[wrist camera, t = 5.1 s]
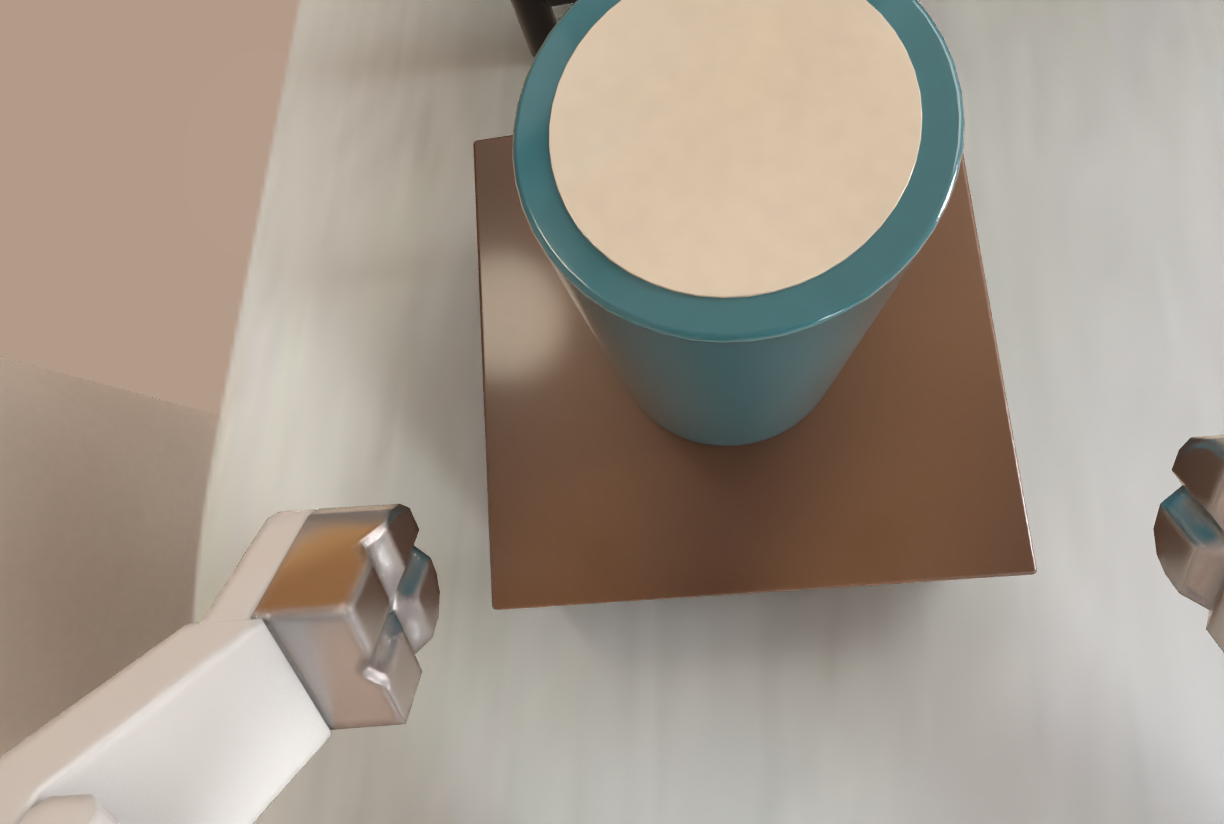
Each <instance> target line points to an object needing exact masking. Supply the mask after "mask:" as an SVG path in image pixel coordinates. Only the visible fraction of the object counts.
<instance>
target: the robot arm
mask: <svg viewBox="0 0 1224 824" xmlns="http://www.w3.org/2000/svg"><path fill="white" fill-rule="evenodd" d="M1172 471H1173V472H1174V474H1175V475H1176V477H1177V478H1178V479H1179V481H1180V482H1181V484H1182V486H1181V487H1180V488H1179V489H1178V490H1176V491H1175V492H1174V493H1173V494H1172V495H1170V496H1169V497H1168V498H1167V499H1165V500H1164V501H1163V502H1162V503H1161V504H1160V507H1159V511H1158V514H1157V518H1156V522H1155V525H1154V536H1155V544H1156V552H1157V556H1158V558H1159V561H1160V563H1161V565H1162V567H1163V570H1164V572H1165V574H1166V575H1167V577H1168V578H1169V580H1170V581H1171V582H1172V584H1173V585H1174V587H1175V588H1176V589H1177V591H1178V592H1179V593H1180V594H1181V595H1183V596H1185V597H1187V598H1189V599H1190V600H1192V601H1194V602H1196V603H1198V604H1200V605H1201V606H1203V607H1205V608H1207V609H1209V616H1208V621H1207V627H1206V630H1207V631H1208V632H1209V634H1210V635H1211V636H1212V638H1213V639H1214V640H1215V642H1216V643H1217V644H1218V645H1219V647H1220V648H1221V649H1222V651H1223V652H1224V435H1215V436H1204V437H1193V438H1190V439H1189V440H1188V441H1187V442H1186V443H1185V444H1184V445H1183V446H1182V447H1181V449H1180V450H1179V452H1178V454H1177V457H1176V460H1175V463H1174V465H1173V468H1172ZM418 532H419V528H418V526H417V523H416V521H415V519H414V517H413V515H412V512H411V510H410V508H408V507H406V506H404V505H401V504H389V505H373V506H356V507H339V508H323V509H319V510H301V511H286V512H278V513H276V514H275V515H273V516H271V517H269V518H267V520H266V521H265V523H264V524H263V526H262V527H261V529H260V531H259V532H258V534H257V535H256V537H255V538H254V540H253V541H252V543H251V545H250V546H249V548H248V549H247V551H246V552H245V554H244V556H243V557H242V559H241V560H240V562H239V563H238V565H237V566H236V568H235V570H234V571H233V573H232V574H231V576H230V577H229V579H228V581H227V582H226V584H225V585H224V587H223V588H222V590H221V591H220V593H219V595H218V596H217V598H216V599H215V601H214V602H213V604H212V606H211V607H210V609H209V610H208V612H207V613H206V615H205V616H204V618H203V620H202V621H201V623H189V624H186V625H184V626H183V627H182V628H180V629H179V630H177V631H176V632H175V633H173V634H172V635H170V636H169V637H168V638H166V639H165V640H163V641H162V642H160V643H159V644H158V645H156V646H155V647H153V648H152V649H151V650H149V651H148V652H146V653H145V654H144V655H142V656H141V657H139V658H138V659H137V660H135V661H134V662H132V663H131V664H130V665H128V666H127V667H125V668H124V669H123V670H121V671H120V672H118V673H117V674H115V675H114V676H113V677H111V678H110V679H108V680H107V681H106V682H104V683H103V684H101V685H100V686H99V687H97V688H96V689H94V690H93V691H92V692H90V693H89V694H87V695H86V696H85V697H83V698H82V699H80V700H79V701H78V702H76V703H75V704H73V705H72V706H70V707H69V708H68V709H66V710H65V711H63V712H62V713H61V714H59V715H58V716H56V717H55V718H54V719H52V720H51V721H49V722H48V723H47V724H45V725H44V726H42V727H41V728H40V729H38V730H37V731H35V732H34V733H33V734H31V735H30V736H28V737H27V738H25V739H24V740H23V741H21V742H20V743H18V744H17V745H16V746H14V747H13V748H11V749H10V750H9V751H7V752H6V753H4V754H3V755H2V756H0V824H253V823H254V822H255V820H256V819H257V818H258V817H259V816H260V815H261V814H262V813H263V811H264V810H265V809H266V808H267V807H268V806H269V805H270V803H271V802H272V801H273V800H274V799H275V798H276V797H277V796H278V794H279V793H280V792H281V791H282V790H283V789H284V788H285V787H286V785H287V784H288V783H289V782H290V781H291V780H292V779H293V777H294V776H295V775H296V774H297V773H298V772H299V771H300V770H301V768H302V767H303V766H304V765H305V764H306V763H307V762H308V760H309V759H310V758H311V757H312V756H313V755H314V754H315V753H316V751H317V750H318V749H319V748H320V747H321V746H322V745H323V744H324V742H325V741H326V740H327V739H328V738H329V737H330V736H331V734H332V732H331V731H330V730H333V729H346V728H360V727H374V726H387V725H401V724H406V721H407V718H408V715H409V712H410V708H411V705H412V702H413V699H414V696H415V692H416V689H417V686H418V683H419V680H420V676H421V673H422V670H421V668H420V665H419V663H418V661H417V659H416V656H415V654H416V653H417V652H418V651H419V650H420V649H421V648H422V647H423V646H424V645H425V644H426V643H428V642H429V641H430V640H431V639H432V637H433V634H434V630H435V627H436V623H437V620H438V614H439V595H440V591H439V585H438V579H437V574H436V571H435V568H434V565H433V563H432V560H431V558H430V557H429V556H428V555H426V554H425V553H423V552H422V551H421V550H419V549H418V548H416V547H415V546H414V542H415V540H416V537H417V534H418Z"/></svg>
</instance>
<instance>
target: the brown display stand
mask: <svg viewBox="0 0 1224 824" xmlns="http://www.w3.org/2000/svg"><path fill="white" fill-rule="evenodd" d="M473 146H474V171H475V196H476V221H477V245H478V270H479V295H480V319H481V344H482V369H483V394H484V418H485V443H486V468H487V492H488V517H489V542H490V567H491V591H492V607H493V609H495V610H501V609H516V608H532V607H547V606H562V605H577V604H592V603H607V602H622V601H638V600H653V599H668V598H683V597H698V596H713V595H728V594H743V593H759V592H774V591H789V590H804V589H819V588H834V587H849V586H865V585H880V584H895V583H910V582H925V581H940V580H955V579H970V578H986V577H1001V576H1016V575H1031V574H1034V573H1036V570H1037V568H1036V563H1035V557H1034V551H1033V546H1032V540H1031V535H1030V529H1029V523H1028V518H1027V512H1026V506H1025V501H1024V495H1023V489H1022V484H1021V478H1020V472H1019V467H1018V461H1017V455H1016V450H1015V444H1014V438H1013V433H1012V427H1011V422H1010V416H1009V410H1008V405H1007V399H1006V393H1005V388H1004V382H1003V376H1002V371H1001V365H1000V359H999V354H998V348H997V342H996V337H995V331H994V325H993V320H992V314H991V309H990V303H989V297H988V292H987V286H986V280H985V275H984V269H983V263H982V258H981V252H980V246H979V241H978V235H977V229H976V224H975V218H974V212H973V207H972V201H971V195H970V190H969V184H968V179H967V173H966V167H965V162H964V156H963V153H962V158H961V163H960V168H959V173H958V178H957V181H956V183H955V186H954V189H953V192H952V194H951V197H950V200H949V203H948V205H947V207H946V209H945V211H944V213H943V215H942V217H941V218H940V220H939V222H938V224H937V226H936V228H935V230H934V231H933V233H932V234H931V236H930V237H929V239H928V240H927V242H926V243H925V245H924V246H923V248H922V249H921V251H920V252H919V254H918V255H917V257H916V258H915V260H914V261H913V263H912V264H911V266H910V267H909V269H908V270H907V272H906V273H905V275H904V277H903V278H902V280H901V281H900V283H899V284H898V286H897V287H896V289H895V290H894V292H893V293H892V295H891V296H890V298H889V299H888V301H887V302H886V304H885V305H884V307H883V308H882V310H881V311H880V313H879V314H878V316H877V317H876V319H875V320H874V322H873V323H872V325H871V326H870V328H869V329H868V331H867V332H866V334H865V335H864V337H863V338H862V340H861V341H860V343H859V344H858V346H857V347H856V349H855V350H854V352H853V353H852V355H851V356H850V358H849V359H848V361H847V362H846V364H845V365H844V367H843V368H842V370H841V371H840V373H839V374H838V376H837V377H836V379H835V380H834V382H833V383H832V385H831V386H830V388H829V389H828V391H827V392H826V393H825V395H824V396H823V398H822V399H821V400H820V402H819V403H818V404H817V405H816V406H815V407H814V408H813V410H812V411H811V412H810V413H809V414H808V415H807V416H805V417H804V418H803V419H802V420H800V421H799V422H798V423H797V424H795V425H794V426H792V427H790V428H789V429H787V430H785V431H784V432H782V433H780V434H777V435H775V436H773V437H771V438H768V439H765V440H762V441H758V442H755V443H750V444H744V445H738V446H717V445H707V444H702V443H698V442H694V441H690V440H688V439H685V438H682V437H680V436H677V435H675V434H673V433H671V432H669V431H668V430H666V429H664V428H662V427H661V426H660V425H658V424H657V423H655V422H654V421H653V420H651V419H650V418H649V417H648V416H647V415H646V414H645V413H644V412H643V411H642V410H641V409H640V408H639V407H638V406H637V404H636V403H635V402H634V401H633V399H632V398H631V397H630V395H629V393H628V392H627V390H626V388H625V387H624V385H623V383H622V382H621V380H620V378H619V377H618V375H617V373H616V372H615V370H614V368H613V367H612V365H611V363H610V362H609V360H608V358H607V357H606V355H605V353H604V352H603V350H602V348H601V347H600V345H599V343H598V342H597V340H596V338H595V337H594V335H593V333H592V331H591V330H590V328H589V326H588V325H587V323H586V321H585V320H584V318H583V316H582V315H581V313H580V311H579V310H578V308H577V306H576V305H575V303H574V301H573V300H572V298H571V296H570V295H569V293H568V291H567V290H566V288H565V286H564V285H563V283H562V281H561V280H560V278H559V276H558V274H557V273H556V271H555V269H554V268H553V266H552V264H551V263H550V261H549V259H548V258H547V256H546V254H545V253H544V251H543V249H542V248H541V246H540V244H539V243H538V241H537V239H536V238H535V236H534V234H533V232H532V230H531V228H530V225H529V223H528V221H527V218H526V216H525V214H524V211H523V209H522V206H521V202H520V198H519V194H518V191H517V187H516V183H515V174H514V166H513V135H511V136H504V137H497V138H491V139H484V140H477V141H475V142H474V145H473Z"/></svg>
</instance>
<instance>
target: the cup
mask: <svg viewBox="0 0 1224 824" xmlns="http://www.w3.org/2000/svg"><path fill="white" fill-rule="evenodd" d="M964 126H965V118H964V109H963V99H962V91H961V87H960V84H959V80H958V76H957V72H956V68H955V64H954V62H953V59H952V57H951V55H950V52H949V50H948V48H947V45H946V43H945V41H944V38H943V37H942V35H941V34H940V32H939V30H938V29H937V27H936V25H935V24H934V22H933V21H932V19H931V17H930V16H929V14H928V13H927V12H926V11H925V10H924V8H923V7H922V6H921V5H920V4H919V3H918V1H917V0H577V1H576V2H575V3H574V4H573V5H572V6H571V7H570V8H569V9H568V10H567V11H566V12H565V13H564V15H563V16H562V17H561V19H560V20H559V21H558V22H557V24H556V25H555V26H554V28H553V29H552V30H551V31H550V33H549V34H548V36H547V37H546V39H545V41H544V42H543V44H542V46H541V47H540V49H539V51H538V52H537V54H536V56H535V58H534V60H533V63H532V65H531V67H530V69H529V72H528V74H527V76H526V78H525V81H524V85H523V88H522V91H521V95H520V98H519V101H518V105H517V110H516V117H515V123H514V129H513V166H514V174H515V183H516V187H517V191H518V194H519V198H520V202H521V206H522V209H523V211H524V214H525V216H526V218H527V221H528V223H529V225H530V228H531V230H532V232H533V234H534V236H535V238H536V239H537V241H538V243H539V244H540V246H541V248H542V249H543V251H544V253H545V254H546V256H547V258H548V259H549V261H550V263H551V264H552V266H553V268H554V269H555V271H556V273H557V274H558V276H559V278H560V280H561V281H562V283H563V285H564V286H565V288H566V290H567V291H568V293H569V295H570V296H571V298H572V300H573V301H574V303H575V305H576V306H577V308H578V310H579V311H580V313H581V315H582V316H583V318H584V320H585V321H586V323H587V325H588V326H589V328H590V330H591V331H592V333H593V335H594V337H595V338H596V340H597V342H598V343H599V345H600V347H601V348H602V350H603V352H604V353H605V355H606V357H607V358H608V360H609V362H610V363H611V365H612V367H613V368H614V370H615V372H616V373H617V375H618V377H619V378H620V380H621V382H622V383H623V385H624V387H625V388H626V390H627V392H628V393H629V395H630V397H631V398H632V399H633V401H634V402H635V403H636V404H637V406H638V407H639V408H640V409H641V410H642V411H643V412H644V413H645V414H646V415H647V416H648V417H649V418H650V419H651V420H653V421H654V422H655V423H657V424H658V425H660V426H661V427H662V428H664V429H666V430H668V431H669V432H671V433H673V434H675V435H677V436H680V437H682V438H685V439H688V440H690V441H694V442H698V443H702V444H707V445H717V446H738V445H744V444H750V443H755V442H758V441H762V440H765V439H768V438H771V437H773V436H775V435H777V434H780V433H782V432H784V431H785V430H787V429H789V428H790V427H792V426H794V425H795V424H797V423H798V422H799V421H800V420H802V419H803V418H804V417H805V416H807V415H808V414H809V413H810V412H811V411H812V410H813V408H814V407H815V406H816V405H817V404H818V403H819V402H820V400H821V399H822V398H823V396H824V395H825V393H826V392H827V391H828V389H829V388H830V386H831V385H832V383H833V382H834V380H835V379H836V377H837V376H838V374H839V373H840V371H841V370H842V368H843V367H844V365H845V364H846V362H847V361H848V359H849V358H850V356H851V355H852V353H853V352H854V350H855V349H856V347H857V346H858V344H859V343H860V341H861V340H862V338H863V337H864V335H865V334H866V332H867V331H868V329H869V328H870V326H871V325H872V323H873V322H874V320H875V319H876V317H877V316H878V314H879V313H880V311H881V310H882V308H883V307H884V305H885V304H886V302H887V301H888V299H889V298H890V296H891V295H892V293H893V292H894V290H895V289H896V287H897V286H898V284H899V283H900V281H901V280H902V278H903V277H904V275H905V273H906V272H907V270H908V269H909V267H910V266H911V264H912V263H913V261H914V260H915V258H916V257H917V255H918V254H919V252H920V251H921V249H922V248H923V246H924V245H925V243H926V242H927V240H928V239H929V237H930V236H931V234H932V233H933V231H934V230H935V228H936V226H937V224H938V222H939V220H940V218H941V217H942V215H943V213H944V211H945V209H946V207H947V205H948V203H949V200H950V197H951V194H952V192H953V189H954V186H955V183H956V181H957V178H958V173H959V168H960V163H961V158H962V153H963V146H964Z"/></svg>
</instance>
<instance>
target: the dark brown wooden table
mask: <svg viewBox="0 0 1224 824" xmlns="http://www.w3.org/2000/svg"><path fill="white" fill-rule="evenodd" d="M576 1H577V0H511V3H512V5H513V8H514V10H515V13H516V16H517V18H518V21H519V23H520V26H521V29H522V31H523V34H524V36H525V39H526V42H527V44H528V47H529V49H530V52H531V54H532V55H533V56H534V57H535V56H536V54H537V52H538V51H539V49H540V47H541V46H542V44H543V42H544V41H545V39H546V37H547V36H548V34H549V33H550V31H551V30H552V29H553V28H554V26H555V25H556V24H557V22H556V19H555V16H554V12H553V9H552V6H557V5H563V4H569V3H575V2H576Z"/></svg>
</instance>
